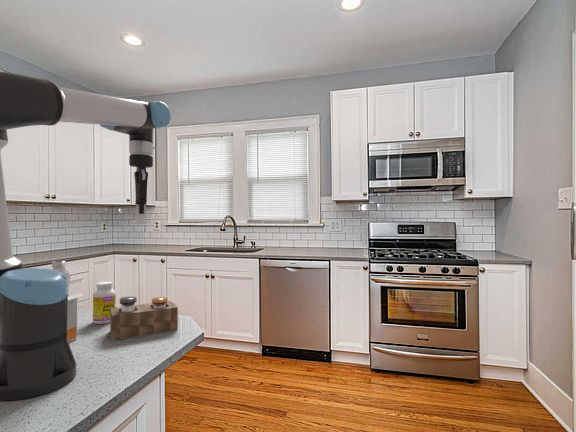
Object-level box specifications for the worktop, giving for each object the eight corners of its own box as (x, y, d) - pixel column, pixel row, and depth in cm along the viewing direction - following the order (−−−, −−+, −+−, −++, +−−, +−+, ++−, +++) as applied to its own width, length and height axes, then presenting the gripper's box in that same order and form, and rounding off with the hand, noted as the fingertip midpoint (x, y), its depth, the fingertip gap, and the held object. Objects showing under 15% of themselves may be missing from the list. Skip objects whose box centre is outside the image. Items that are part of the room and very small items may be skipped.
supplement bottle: (101, 325, 110) (101, 285, 110) (88, 322, 113) (88, 283, 113) (120, 320, 116) (120, 281, 116) (106, 317, 119) (106, 280, 119)
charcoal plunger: (137, 328, 102) (137, 299, 102) (120, 330, 100) (120, 300, 100) (135, 323, 106) (135, 295, 106) (118, 326, 104) (118, 297, 104)
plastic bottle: (41, 323, 112) (42, 261, 112) (63, 317, 118) (63, 259, 118) (53, 326, 109) (53, 263, 109) (74, 320, 115) (74, 260, 115)
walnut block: (171, 321, 114) (171, 300, 114) (177, 329, 106) (177, 307, 106) (110, 331, 105) (110, 308, 105) (112, 340, 97) (112, 315, 97)
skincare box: (59, 347, 92) (59, 302, 92) (46, 345, 93) (46, 301, 93) (77, 339, 98) (77, 297, 98) (65, 337, 99) (65, 296, 99)
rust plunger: (168, 327, 107) (168, 299, 107) (153, 329, 105) (153, 301, 105) (165, 323, 111) (165, 296, 111) (150, 325, 109) (150, 298, 109)
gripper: (156, 153, 115) (155, 224, 115) (149, 158, 126) (149, 223, 126) (131, 151, 111) (131, 224, 111) (127, 156, 122) (126, 223, 122)
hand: (140, 223), depth 119 cm, fingers closed
